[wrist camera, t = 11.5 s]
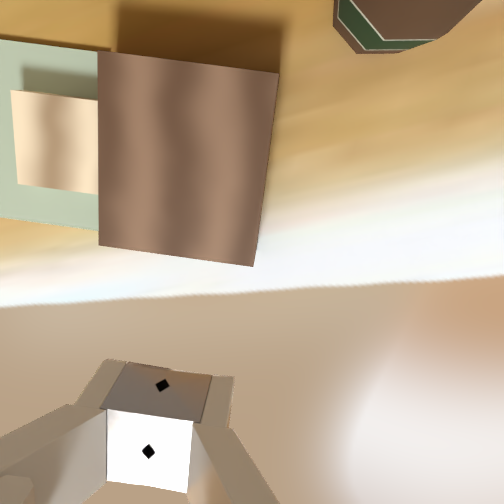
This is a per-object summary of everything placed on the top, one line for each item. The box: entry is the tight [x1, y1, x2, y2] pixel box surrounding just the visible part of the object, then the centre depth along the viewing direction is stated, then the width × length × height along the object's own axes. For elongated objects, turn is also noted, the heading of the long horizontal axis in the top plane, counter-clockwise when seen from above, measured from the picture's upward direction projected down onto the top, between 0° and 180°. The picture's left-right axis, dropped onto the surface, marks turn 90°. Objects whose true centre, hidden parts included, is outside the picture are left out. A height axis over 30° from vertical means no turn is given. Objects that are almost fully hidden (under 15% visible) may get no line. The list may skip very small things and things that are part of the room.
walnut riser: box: [97, 50, 279, 267], centre depth 37 cm, size 14×16×4 cm
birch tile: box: [10, 90, 98, 195], centre depth 38 cm, size 8×8×2 cm
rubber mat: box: [0, 39, 99, 231], centre depth 39 cm, size 12×16×1 cm
